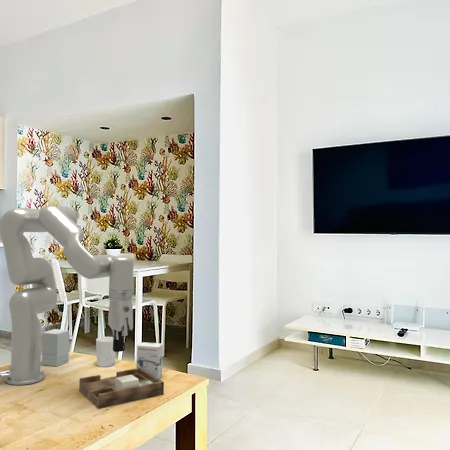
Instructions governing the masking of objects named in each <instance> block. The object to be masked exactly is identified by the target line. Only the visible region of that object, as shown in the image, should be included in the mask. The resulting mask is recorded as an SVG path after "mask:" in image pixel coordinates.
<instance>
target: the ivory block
mask: <svg viewBox="0 0 450 450" xmlns="http://www.w3.org/2000/svg"><path fill="white" fill-rule="evenodd" d="M136 386H139V379H138V378H136V377H134V376H133V375H127V376H122V377H117V378H115V389H116V390H121V389H126V388H131V387H136Z"/></svg>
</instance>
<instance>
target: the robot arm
mask: <svg viewBox="0 0 450 450" xmlns="http://www.w3.org/2000/svg"><path fill="white" fill-rule="evenodd" d="M77 223H78V214H77V213H76V211H75V210H74V209H72V208H71V207H68V206H64V205H53V204H52V205H51V204H50V205H46V206H44V207H42V208H41V209H39V208H30V207H28V208H27V207H15V208H11V209H9V210H7V211H5V212H4V213H3V215H2V216H1V218H0V239H1V242H2V245H3V249H4V256H5V261H6V268H7V273H8V277H9V280H10V282H11V283H12V284H13V285H14V286H19V287H21V286H28V285H31V286H32V287H29V288H23V289H20V290H17V291H15V292H14V293H13V294H12V295H11V297H10V299H9V302H8V305H9V306H8V309H9V314H10V319H11V344H10V349H11V351H10V352H11V354H10V366H8V368H7V369H5V370H0V378H1V379H4V378H5V383H7V384H9V385H15V386H23V385H24V386H25V385H30V384H31V385H32V384H35V383H38V382H41V381H43V380H44V379H45V376H46V374H45V372H44V371H41V365H42V325H41V322H40V321H41V320H40V319H39V317H38V315H39V314H43V313H48V312H49V311H51V310H54V308H55V307H56V305H57V303H58V292H57V287H56V282H55V277H54V270H53V268H52V266H51V264H50V262H49V261H48V260H47V259H45V258H43V257H33V252H32V247H31V244H30V242H29V240H28V238H27V237H26V236H25V235H24V233H46V232H47V233H49V235H50V236H51V237H53V238H54V239H55V241H57V242H58V244H60V245H61V247H63V254H64V257H65V259H66V261H67V263H68V264H69V265H70V266H71V267H72V268H73V270H75V271H76V273H78V274H79V275H80V276H82V277H83V278H85V279H88V280H93V279H101V278H107V277H109V278H108V279H109V282H108V300H109V305H108V316H107V317H108V318H107V319H108V320H107V325H108V326H109V327H110V329H111V331H112V337H113V338H115V339H113V351H114V352H116V353H118V352H119V353H120V352H124V351H125V339H126V336H128V334H129V333H128V331H133V328H134V308H133V288H134V287H133V286H134V285H133V283H134V265H135V264H134V262H135V261H134V259H133V257H130V256H122V255H121V256H117V255H111V254H91V253H90V252H89V251H88V250H87V249H86V248H85V247H84V246H83V244H82V243H81V242H82V240H83V238H84V236H85V232H84V230H83V228H81V227H80V226H79V225H78V224H77Z"/></svg>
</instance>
